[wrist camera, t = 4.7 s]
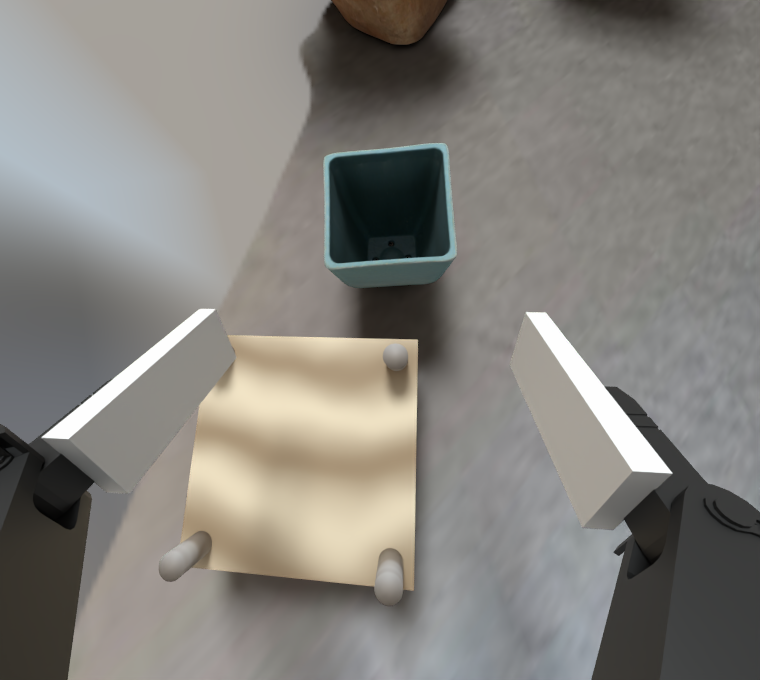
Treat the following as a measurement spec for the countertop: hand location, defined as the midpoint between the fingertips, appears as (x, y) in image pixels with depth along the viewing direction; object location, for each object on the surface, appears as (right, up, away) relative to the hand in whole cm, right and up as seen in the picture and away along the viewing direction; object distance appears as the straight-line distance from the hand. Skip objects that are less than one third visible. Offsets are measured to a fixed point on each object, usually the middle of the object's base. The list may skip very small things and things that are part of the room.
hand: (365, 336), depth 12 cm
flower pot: (+2, +8, +16) cm, 17 cm away
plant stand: (-4, -9, +13) cm, 16 cm away
